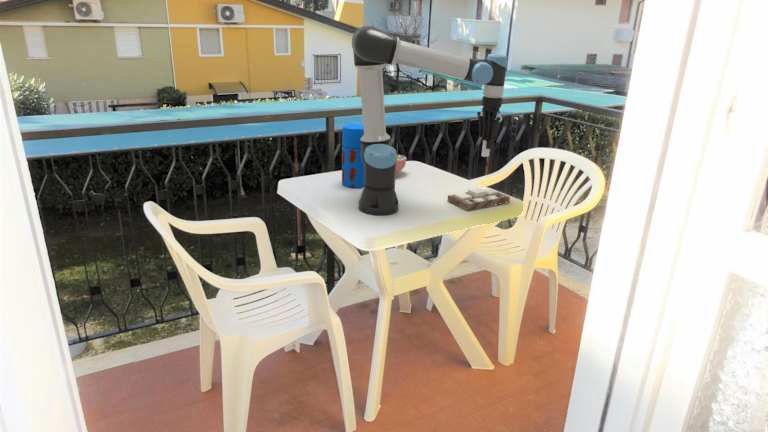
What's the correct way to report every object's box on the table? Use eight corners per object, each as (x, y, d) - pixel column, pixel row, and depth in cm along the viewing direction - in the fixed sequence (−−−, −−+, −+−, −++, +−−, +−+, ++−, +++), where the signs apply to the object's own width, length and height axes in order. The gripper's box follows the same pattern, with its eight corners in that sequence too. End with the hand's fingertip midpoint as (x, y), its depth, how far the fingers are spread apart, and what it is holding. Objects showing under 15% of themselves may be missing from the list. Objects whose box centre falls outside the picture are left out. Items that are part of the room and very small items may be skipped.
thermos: (364, 189, 221) (365, 130, 212) (339, 187, 222) (339, 128, 213) (369, 182, 231) (370, 125, 222) (345, 180, 232) (345, 123, 223)
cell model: (410, 178, 238) (412, 154, 234) (368, 180, 233) (368, 155, 229) (399, 168, 253) (400, 145, 249) (358, 170, 248) (359, 146, 244)
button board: (466, 211, 201) (467, 204, 200) (447, 201, 210) (447, 194, 209) (509, 202, 212) (510, 196, 211) (488, 194, 221) (489, 187, 220)
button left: (461, 204, 205) (462, 198, 204) (453, 200, 209) (454, 194, 208) (471, 202, 208) (472, 196, 207) (463, 198, 212) (464, 192, 211)
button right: (488, 199, 212) (489, 193, 211) (480, 195, 216) (481, 189, 215) (498, 197, 215) (498, 191, 214) (489, 193, 219) (490, 188, 218)
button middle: (475, 199, 208) (476, 193, 208) (467, 195, 212) (468, 189, 212) (485, 197, 211) (486, 191, 210) (477, 193, 215) (477, 187, 214)
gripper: (511, 98, 199) (503, 159, 208) (488, 93, 210) (481, 151, 218) (496, 99, 196) (488, 161, 204) (474, 94, 206) (467, 153, 214)
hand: (485, 156), depth 211 cm, fingers closed
